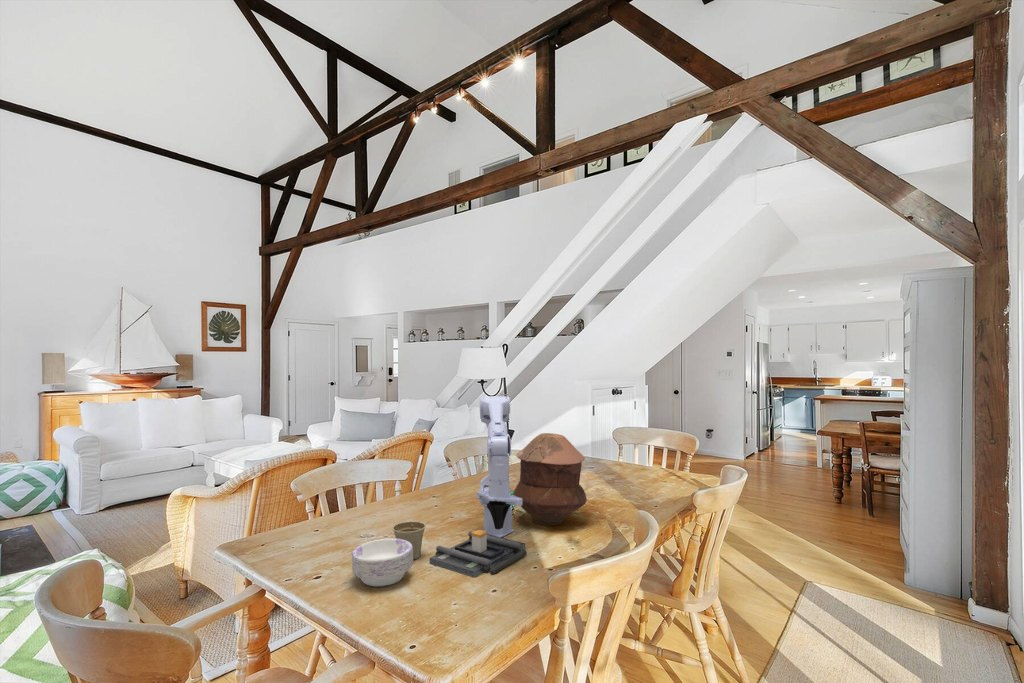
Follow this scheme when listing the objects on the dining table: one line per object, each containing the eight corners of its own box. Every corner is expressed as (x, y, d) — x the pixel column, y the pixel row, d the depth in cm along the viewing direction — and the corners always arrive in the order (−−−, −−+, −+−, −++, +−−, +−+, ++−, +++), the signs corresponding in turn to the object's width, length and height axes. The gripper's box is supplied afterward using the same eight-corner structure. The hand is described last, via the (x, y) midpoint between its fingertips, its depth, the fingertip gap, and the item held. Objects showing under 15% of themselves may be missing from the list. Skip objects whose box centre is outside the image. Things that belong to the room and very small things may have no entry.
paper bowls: (343, 576, 132) (343, 545, 132) (397, 562, 141) (397, 533, 141) (365, 599, 119) (365, 564, 120) (423, 581, 129) (423, 549, 129)
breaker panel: (483, 537, 160) (483, 530, 160) (525, 548, 151) (525, 541, 151) (429, 563, 140) (429, 555, 140) (474, 577, 131) (474, 569, 131)
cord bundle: (469, 540, 157) (469, 530, 157) (526, 555, 145) (526, 544, 145) (434, 557, 144) (434, 546, 144) (493, 575, 132) (493, 563, 132)
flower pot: (390, 553, 147) (390, 523, 147) (422, 548, 150) (422, 519, 151) (394, 565, 138) (394, 533, 139) (428, 560, 142) (428, 529, 142)
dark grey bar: (471, 540, 158) (471, 529, 158) (521, 553, 147) (521, 542, 147) (467, 541, 156) (467, 531, 156) (517, 555, 145) (517, 544, 145)
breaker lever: (478, 547, 147) (478, 529, 148) (487, 549, 146) (487, 531, 146) (471, 550, 145) (471, 532, 145) (480, 553, 143) (480, 535, 143)
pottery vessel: (501, 514, 183) (501, 431, 184) (563, 506, 193) (563, 427, 194) (532, 538, 159) (532, 442, 160) (601, 527, 169) (601, 437, 170)
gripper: (469, 478, 143) (469, 527, 142) (512, 485, 134) (512, 537, 134) (485, 473, 149) (485, 520, 148) (526, 480, 140) (526, 530, 140)
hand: (498, 528), depth 141 cm, fingers closed
